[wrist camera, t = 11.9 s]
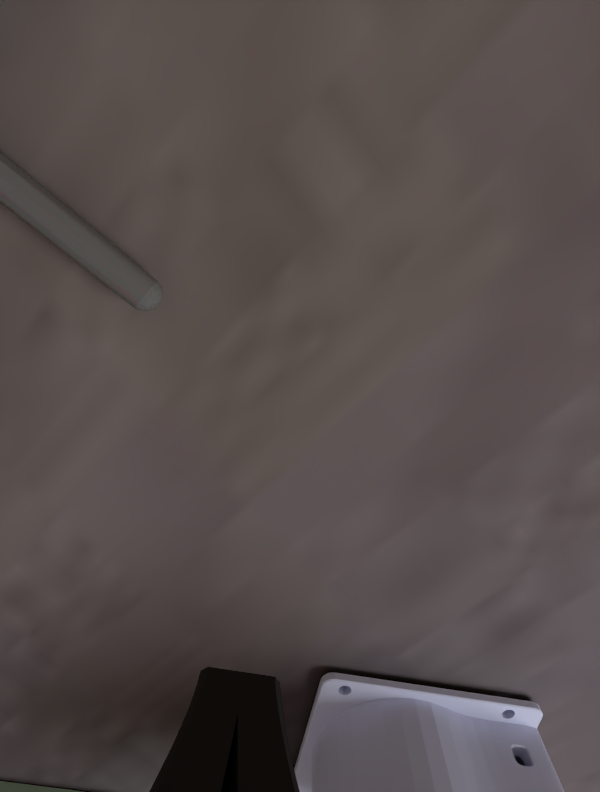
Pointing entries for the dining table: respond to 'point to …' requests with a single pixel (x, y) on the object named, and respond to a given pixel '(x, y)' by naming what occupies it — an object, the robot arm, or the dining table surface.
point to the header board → (29, 788)
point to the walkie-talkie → (76, 237)
